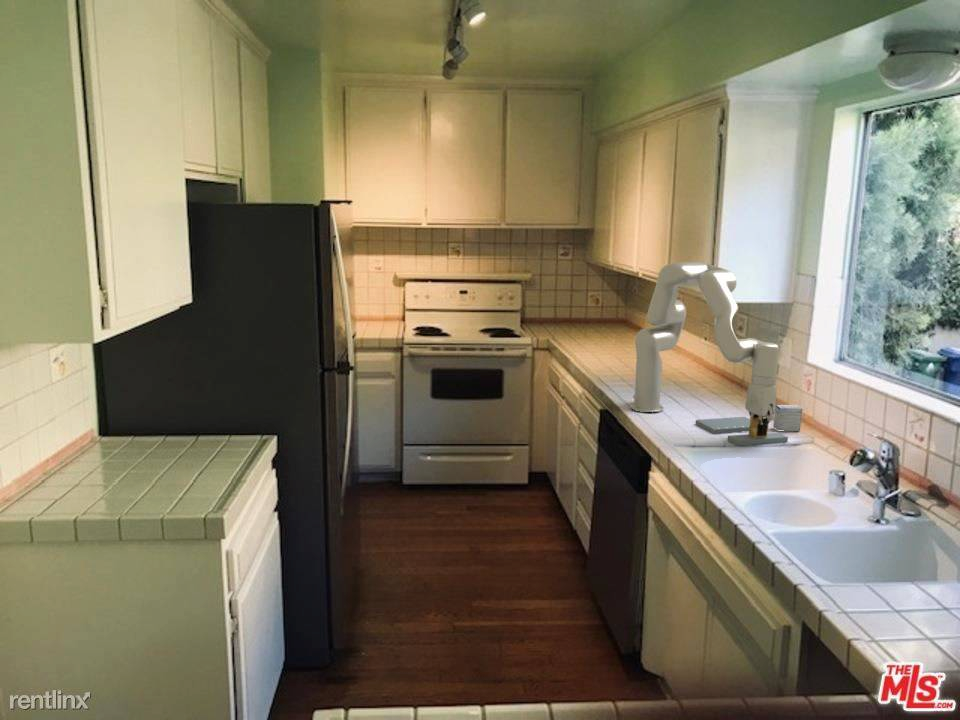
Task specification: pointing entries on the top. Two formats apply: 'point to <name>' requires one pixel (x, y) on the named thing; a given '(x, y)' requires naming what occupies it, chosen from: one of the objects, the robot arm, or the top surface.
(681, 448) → the top surface
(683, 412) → the top surface
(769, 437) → the grey-blue slab
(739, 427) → the board
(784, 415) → the medicine box
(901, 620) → the top surface
